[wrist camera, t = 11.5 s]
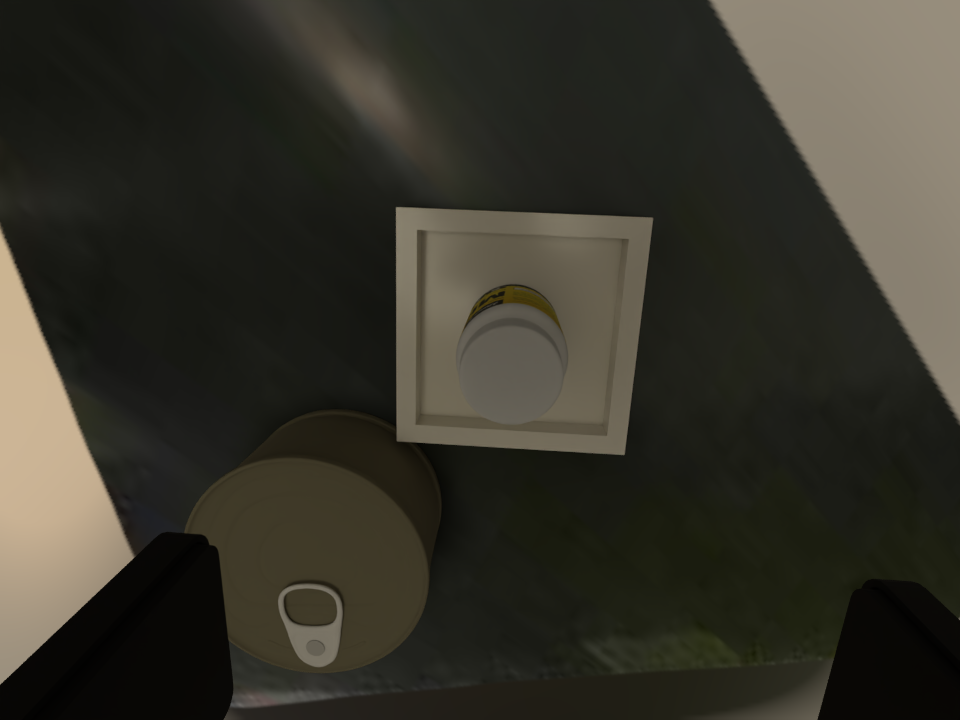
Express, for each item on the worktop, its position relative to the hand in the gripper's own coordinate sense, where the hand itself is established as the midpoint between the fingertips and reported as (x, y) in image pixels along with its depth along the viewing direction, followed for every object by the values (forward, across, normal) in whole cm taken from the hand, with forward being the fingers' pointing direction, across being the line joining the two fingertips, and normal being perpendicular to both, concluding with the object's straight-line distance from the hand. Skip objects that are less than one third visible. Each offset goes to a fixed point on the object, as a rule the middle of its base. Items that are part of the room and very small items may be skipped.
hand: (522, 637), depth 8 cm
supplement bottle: (+22, 0, 0) cm, 22 cm away
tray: (+22, 0, 0) cm, 22 cm away
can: (+22, +9, +11) cm, 27 cm away
